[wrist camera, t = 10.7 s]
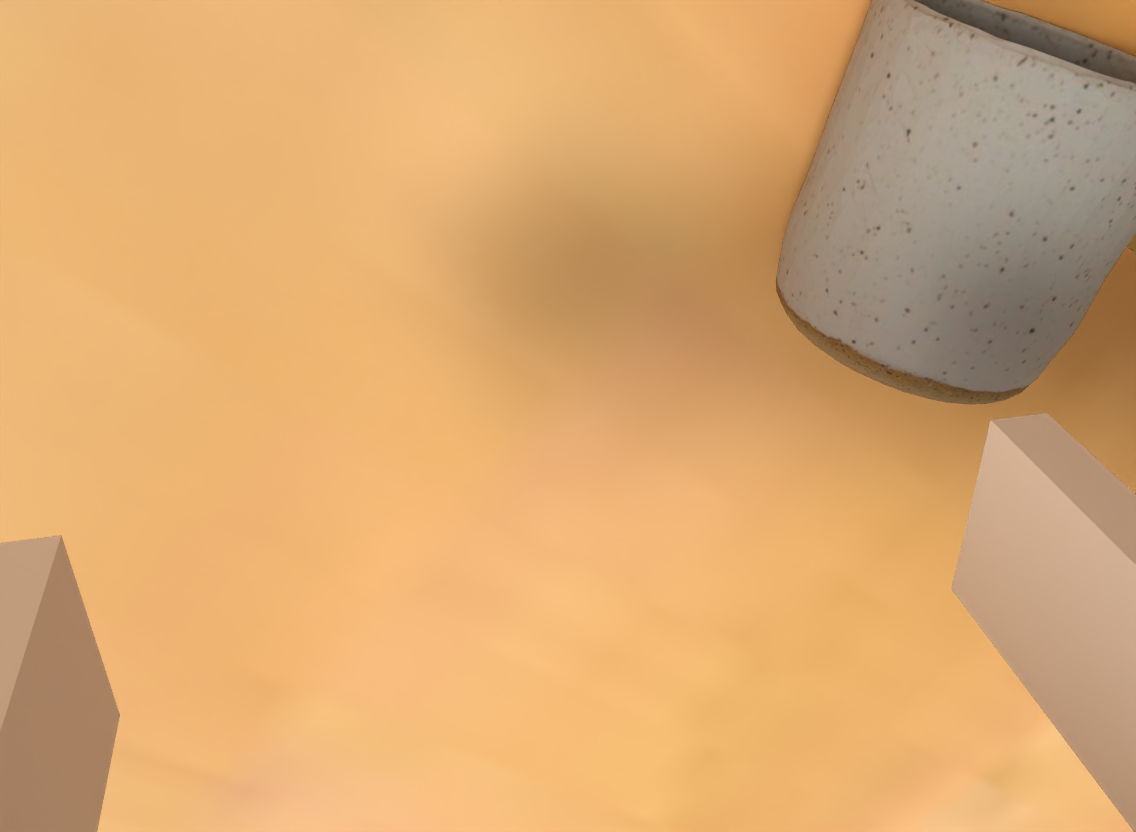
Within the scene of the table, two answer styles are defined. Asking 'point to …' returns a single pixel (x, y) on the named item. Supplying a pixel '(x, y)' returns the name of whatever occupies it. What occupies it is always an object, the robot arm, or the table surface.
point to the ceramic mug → (962, 199)
